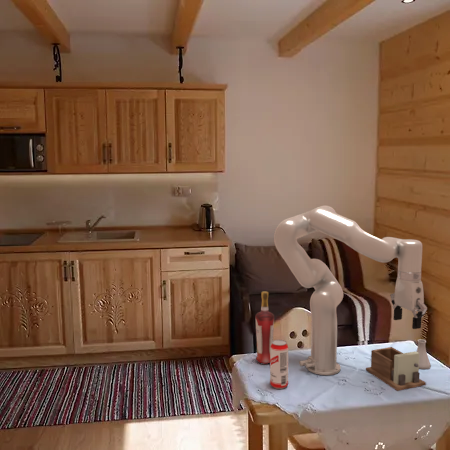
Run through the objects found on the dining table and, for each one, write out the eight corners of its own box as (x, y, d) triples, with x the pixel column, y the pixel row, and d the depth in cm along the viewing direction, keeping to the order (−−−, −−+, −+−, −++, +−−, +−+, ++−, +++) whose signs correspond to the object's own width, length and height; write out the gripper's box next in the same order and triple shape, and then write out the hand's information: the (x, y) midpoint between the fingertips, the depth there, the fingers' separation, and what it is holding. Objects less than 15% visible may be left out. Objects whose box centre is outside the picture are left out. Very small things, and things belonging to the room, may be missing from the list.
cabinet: (397, 390, 174) (398, 368, 173) (365, 370, 191) (366, 349, 190) (425, 385, 178) (426, 363, 177) (392, 365, 195) (393, 345, 194)
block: (398, 385, 176) (399, 357, 174) (393, 382, 178) (394, 354, 177) (419, 381, 179) (421, 354, 178) (414, 378, 182) (415, 351, 180)
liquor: (254, 358, 203) (254, 290, 199) (272, 357, 203) (272, 289, 200) (256, 366, 196) (256, 295, 192) (275, 365, 196) (275, 294, 192)
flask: (432, 370, 190) (433, 344, 189) (412, 369, 192) (413, 343, 190) (428, 362, 197) (430, 337, 196) (409, 361, 199) (410, 336, 197)
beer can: (276, 391, 175) (276, 346, 172) (266, 384, 180) (266, 340, 178) (291, 387, 177) (292, 343, 175) (281, 380, 183) (281, 337, 181)
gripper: (436, 280, 167) (433, 330, 170) (401, 269, 183) (399, 315, 186) (417, 282, 165) (415, 333, 167) (384, 271, 181) (382, 317, 183)
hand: (406, 323), depth 176 cm, fingers open, 9 cm apart
